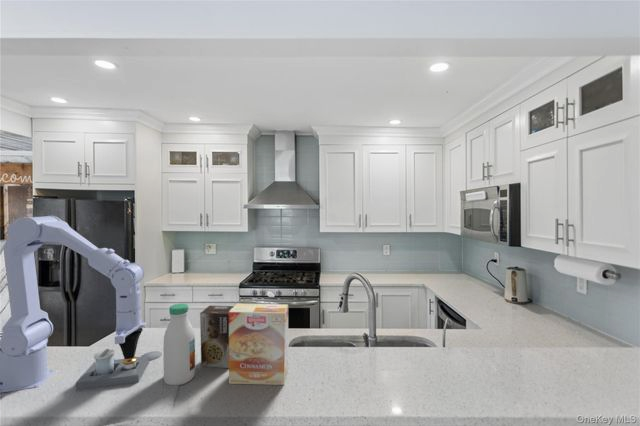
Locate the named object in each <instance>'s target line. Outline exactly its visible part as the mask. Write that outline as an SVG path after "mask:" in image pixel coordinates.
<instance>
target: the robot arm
mask: <svg viewBox="0 0 640 426" xmlns="http://www.w3.org/2000/svg"><path fill="white" fill-rule="evenodd" d="M6 231H7V238H6V239H5V243H4V244H3V255H4V256H3V257H4V259H3V260H4V266H5V275H6V281H7V283H6V284H7V292H8V299H9V307H10V317H9V318H8V320H7V321H6V322H5V324H4V325H3V326H2V328H1V330H2V331H1V332H2V335H1V337H0V349H1V351H2V352H1V353H0V394H1V393H10V392H12V391H21V390H28V389H36V388H39V387H41V385H42V384H44V383H45V382H46V381H47V380H48V379H49V378H50V377H51V376H53V374H55V372H56V369H48V342H49V338H50V336H52V334H53V332H54V324H53V323H52V321H51V320H50V318H49V314H48V312H46V311H44V310H42V309H41V305H40V304H41V303H40V295H39V287H38V277H37V268H36V262H35V261H36V260H35V252H36V251H37V250H38V249H39V248H40V247H41V246H43V244H45V243H59V244H62V245H63V246H65V247H67V248H69V249H70V250H72V251H74V252H76V253H78V254H79V255H81V256H83V257H84V258H86V259H87V262H88V263H87V264H88V265H89V266H90V267H91V268H93V269H95V270H96V271H97V272H100V273H101V275H104V276H106V277H107V278H108V279H110V283H111V285H112V286H113V288H114V289H115V300H116V301H115V304H116V305H115V307H116V309H115V311H116V312H115V313H116V319H115V320H116V326H115V336H114V344H115V345H118V346H119V347H120V350H121V352H122V356H123V359H132V358H133V357H134V356H135V354H136V352H137V348H138V347H137V346H138V343H139V340H140V335H141V334H142V332H143V328H145V327H146V325H147V324H146V323H147V322H146V321H143V322H142V294H141V293H142V292H141V291H142V290H141V287H142V286H141V281H142V280H143V279H144V276H145V272H144V268H143V267H142V266H141V265H140V264H139V263H137V262H130V261H129V260H128V259H124V258H122V257H121V256H119V255H118V254H117V253H115V252H116V251H115V250H114V249H113V248H107V247H102V248H99V247H97V246H96V245H94V244H93V243H92V242H90V241H89V240H88V239H87V238H85V237H84V236H82V235H81V234H79V233H78V232H77V231H76V230H74V228H72V227H71V226H70V225H69V223H68V222H66V221H64V220H62V219H61V218H60V217H58V216H56V215H46V216H32V217H29V216H28V217H27V216H25V217H19V218H17V219H15V220H14V221H13V222H12V223H10V224H8V225H7V226H6ZM135 357H136V356H135Z"/></svg>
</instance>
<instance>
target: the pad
mask: <svg viewBox="0 0 640 426" xmlns="http://www.w3.org/2000/svg"><path fill="white" fill-rule="evenodd" d="M144 356H149V362H151V361H155V360H158V359H159V358H160V357H162V356H163V352H161V351H159V350H154V351H148V352H145V353H143V354H142V355H141V356H140V357H144Z"/></svg>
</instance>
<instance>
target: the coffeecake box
mask: <svg viewBox="0 0 640 426" xmlns="http://www.w3.org/2000/svg"><path fill="white" fill-rule="evenodd" d="M233 306H234V307H233V308H232V309H231V310H230V311H229V368H228V384H229V385H267V386H268V385H269V386H275V385H276V386H285V383H286V379H287V375H288V372H289V371H288V370H289V304H285V303H284V304H277V303H236V304H234V305H233Z"/></svg>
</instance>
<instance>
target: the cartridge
mask: <svg viewBox="0 0 640 426" xmlns="http://www.w3.org/2000/svg"><path fill="white" fill-rule="evenodd" d="M115 354H116V351H115V350H114V349H109V348H105V349H104V350H101V351H98V352H96V353H95V354H94V355H93V359H94V360H95V361H94V362H96V376H97V375H105V374H112V373H113V372H114V360H115V358H114V357H115Z"/></svg>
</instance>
